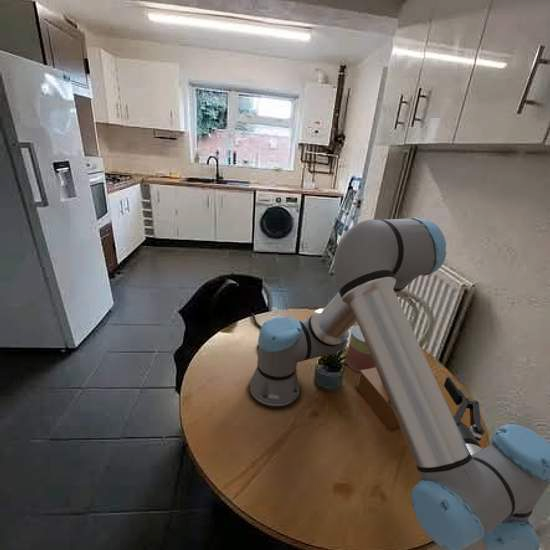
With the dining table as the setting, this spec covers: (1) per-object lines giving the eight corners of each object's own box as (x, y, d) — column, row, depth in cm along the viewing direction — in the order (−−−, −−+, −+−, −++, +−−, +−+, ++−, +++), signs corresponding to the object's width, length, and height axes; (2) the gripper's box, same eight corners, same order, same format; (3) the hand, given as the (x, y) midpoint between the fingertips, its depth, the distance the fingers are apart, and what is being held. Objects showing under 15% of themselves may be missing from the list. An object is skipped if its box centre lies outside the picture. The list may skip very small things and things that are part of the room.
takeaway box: (356, 387, 99) (360, 370, 96) (398, 379, 104) (403, 362, 101) (389, 430, 84) (395, 411, 82) (436, 417, 90) (443, 399, 87)
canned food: (380, 375, 105) (387, 345, 101) (346, 369, 106) (352, 340, 102) (375, 355, 116) (382, 327, 111) (345, 350, 117) (350, 323, 112)
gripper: (393, 462, 61) (368, 385, 81) (520, 474, 61) (464, 395, 80) (401, 434, 58) (374, 362, 78) (535, 447, 58) (473, 371, 77)
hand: (419, 378), depth 79 cm, fingers open, 13 cm apart
